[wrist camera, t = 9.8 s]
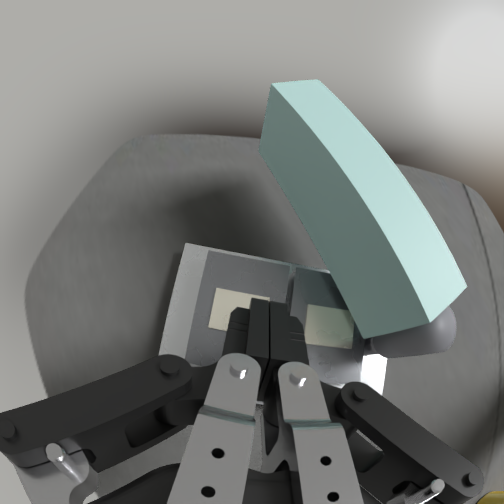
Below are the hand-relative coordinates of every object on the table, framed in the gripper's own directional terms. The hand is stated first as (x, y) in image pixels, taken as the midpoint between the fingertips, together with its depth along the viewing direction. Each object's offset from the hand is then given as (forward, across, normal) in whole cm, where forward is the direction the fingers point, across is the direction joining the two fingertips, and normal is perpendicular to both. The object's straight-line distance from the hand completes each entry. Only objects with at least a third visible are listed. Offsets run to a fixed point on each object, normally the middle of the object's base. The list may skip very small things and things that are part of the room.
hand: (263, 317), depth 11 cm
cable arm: (+7, -5, -2) cm, 9 cm away
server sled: (+6, -2, +5) cm, 8 cm away
